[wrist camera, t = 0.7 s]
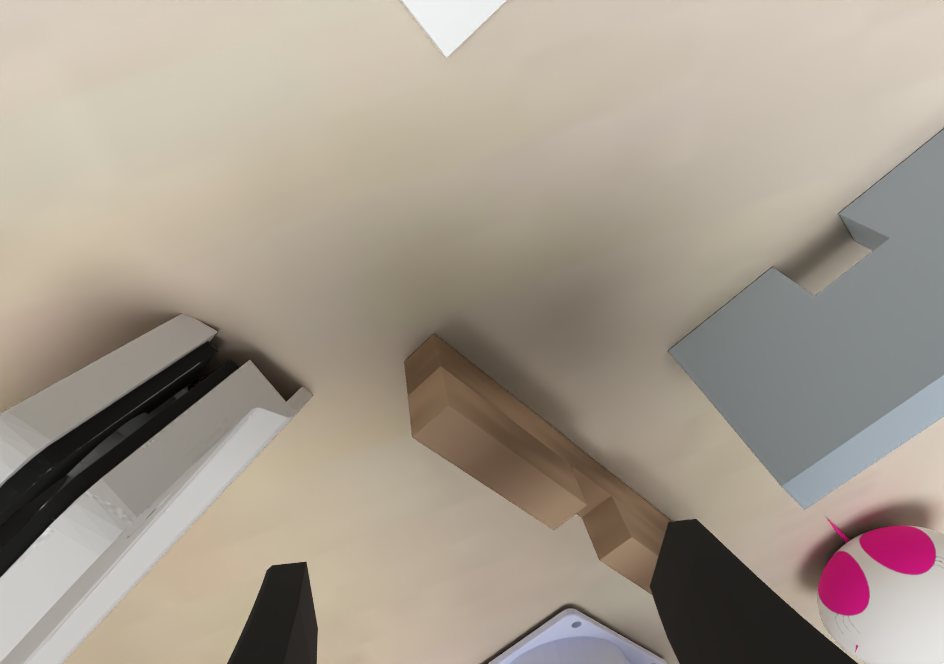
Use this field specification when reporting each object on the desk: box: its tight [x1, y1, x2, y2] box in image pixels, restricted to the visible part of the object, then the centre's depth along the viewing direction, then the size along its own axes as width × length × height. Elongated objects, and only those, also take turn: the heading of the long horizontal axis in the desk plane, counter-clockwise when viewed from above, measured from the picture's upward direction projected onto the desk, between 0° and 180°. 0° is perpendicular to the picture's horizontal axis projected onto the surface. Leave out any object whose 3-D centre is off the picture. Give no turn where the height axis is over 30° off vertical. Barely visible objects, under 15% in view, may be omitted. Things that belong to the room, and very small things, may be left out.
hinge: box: [0, 314, 313, 664], centre depth 17 cm, size 17×5×10 cm, turn 136°
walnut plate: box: [404, 334, 672, 594], centre depth 22 cm, size 16×2×4 cm, turn 44°
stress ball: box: [817, 519, 944, 664], centre depth 29 cm, size 8×8×7 cm
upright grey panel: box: [669, 129, 944, 510], centre depth 18 cm, size 2×12×7 cm, turn 134°
